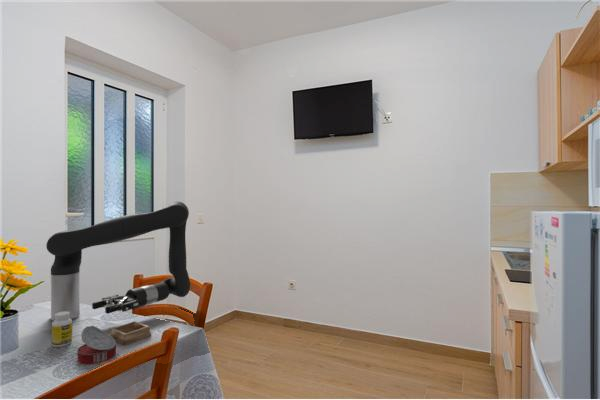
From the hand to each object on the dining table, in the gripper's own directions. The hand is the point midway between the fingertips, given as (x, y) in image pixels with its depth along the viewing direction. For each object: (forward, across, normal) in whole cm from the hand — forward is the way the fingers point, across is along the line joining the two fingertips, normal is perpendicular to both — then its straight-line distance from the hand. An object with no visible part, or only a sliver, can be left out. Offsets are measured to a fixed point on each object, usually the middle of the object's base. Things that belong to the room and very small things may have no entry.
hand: (99, 308), depth 122 cm
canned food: (+10, +18, +9) cm, 22 cm away
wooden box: (-3, +13, +8) cm, 16 cm away
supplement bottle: (+12, 0, +8) cm, 14 cm away
